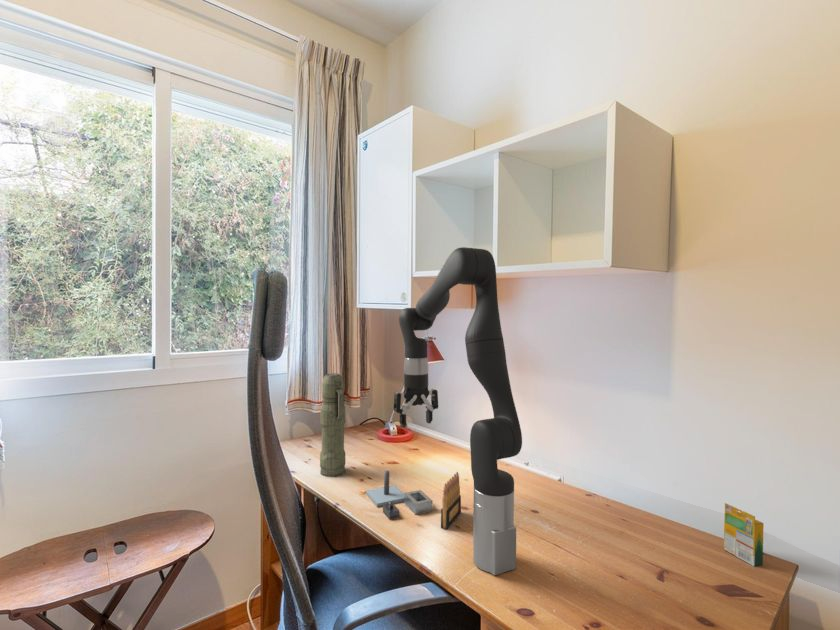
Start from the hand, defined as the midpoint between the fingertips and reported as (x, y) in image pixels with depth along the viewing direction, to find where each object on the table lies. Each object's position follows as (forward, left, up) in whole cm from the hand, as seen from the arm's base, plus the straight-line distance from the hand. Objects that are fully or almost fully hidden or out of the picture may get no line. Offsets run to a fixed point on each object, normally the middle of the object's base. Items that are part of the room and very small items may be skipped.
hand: (416, 424), depth 131 cm
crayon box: (-62, -57, -23) cm, 87 cm away
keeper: (+4, +8, -23) cm, 25 cm away
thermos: (+31, +18, -23) cm, 43 cm away
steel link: (-6, +2, -23) cm, 24 cm away
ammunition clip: (-17, -3, -23) cm, 29 cm away
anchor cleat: (-7, +11, -23) cm, 26 cm away
